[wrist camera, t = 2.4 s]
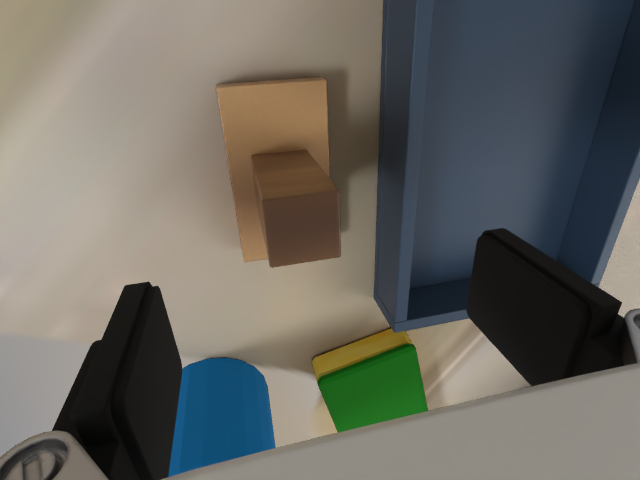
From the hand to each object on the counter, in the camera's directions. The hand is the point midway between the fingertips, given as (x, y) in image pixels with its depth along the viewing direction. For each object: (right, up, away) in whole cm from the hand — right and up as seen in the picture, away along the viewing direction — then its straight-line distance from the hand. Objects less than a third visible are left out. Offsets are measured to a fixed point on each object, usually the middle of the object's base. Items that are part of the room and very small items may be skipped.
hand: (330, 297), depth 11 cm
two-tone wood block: (-3, +5, +9) cm, 11 cm away
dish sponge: (+4, -11, +20) cm, 23 cm away
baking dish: (+10, +10, +10) cm, 17 cm away
